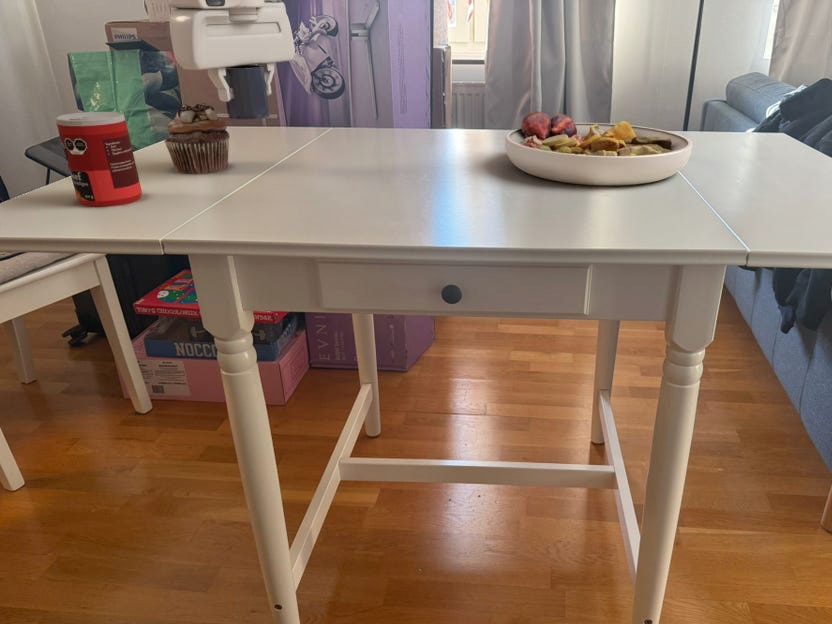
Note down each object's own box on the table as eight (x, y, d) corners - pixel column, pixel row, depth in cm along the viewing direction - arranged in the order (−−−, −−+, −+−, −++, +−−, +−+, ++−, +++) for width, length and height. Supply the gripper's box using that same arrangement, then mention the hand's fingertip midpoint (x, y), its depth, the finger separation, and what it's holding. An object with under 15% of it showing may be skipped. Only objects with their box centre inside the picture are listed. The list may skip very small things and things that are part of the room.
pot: (220, 117, 101) (211, 67, 98) (249, 112, 106) (242, 64, 102) (249, 120, 99) (241, 69, 95) (278, 115, 103) (271, 66, 100)
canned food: (78, 197, 93) (55, 113, 88) (141, 190, 97) (123, 110, 91) (78, 211, 87) (53, 122, 82) (145, 203, 91) (125, 118, 85)
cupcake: (216, 160, 115) (205, 97, 110) (244, 169, 109) (234, 103, 104) (160, 168, 109) (146, 103, 104) (187, 179, 103) (173, 110, 98)
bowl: (714, 165, 114) (723, 117, 111) (638, 202, 93) (646, 144, 89) (562, 144, 130) (565, 101, 126) (467, 171, 109) (467, 120, 105)
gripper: (267, -7, 104) (279, 89, 110) (154, -8, 88) (176, 104, 95) (298, -6, 101) (309, 92, 108) (188, -8, 85) (208, 108, 92)
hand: (246, 98), depth 101 cm, fingers closed on pot, 6 cm apart
